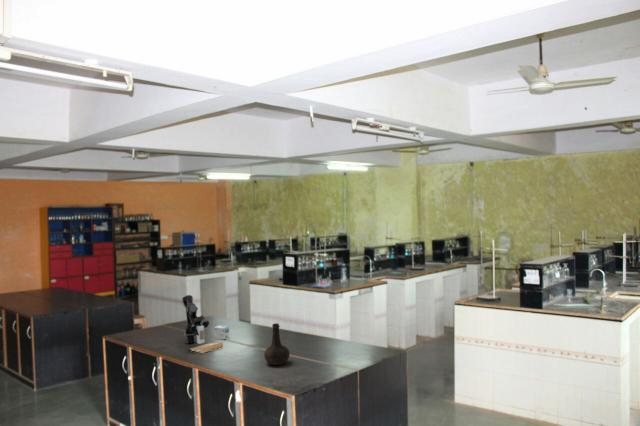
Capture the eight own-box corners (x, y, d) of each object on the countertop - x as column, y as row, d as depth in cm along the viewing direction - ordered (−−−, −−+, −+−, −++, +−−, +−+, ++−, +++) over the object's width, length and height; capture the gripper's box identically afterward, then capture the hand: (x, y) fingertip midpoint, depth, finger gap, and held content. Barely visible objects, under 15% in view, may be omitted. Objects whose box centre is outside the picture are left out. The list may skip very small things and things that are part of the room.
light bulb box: (229, 338, 440) (229, 325, 440) (225, 340, 434) (224, 327, 434) (219, 337, 444) (219, 325, 444) (214, 339, 438) (214, 326, 438)
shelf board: (190, 351, 403) (189, 348, 403) (211, 345, 418) (210, 342, 418) (201, 354, 393) (201, 351, 393) (222, 348, 407) (222, 345, 407)
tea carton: (196, 342, 401) (196, 326, 401) (202, 341, 404) (201, 325, 404) (199, 343, 398) (198, 327, 398) (204, 342, 401) (204, 326, 401)
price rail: (201, 351, 393) (200, 347, 393) (222, 345, 408) (221, 341, 408) (201, 351, 393) (201, 347, 393) (222, 345, 407) (222, 342, 407)
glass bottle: (273, 369, 346) (271, 328, 346) (260, 363, 361) (258, 324, 361) (294, 363, 357) (293, 323, 357) (281, 358, 371) (279, 320, 371)
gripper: (186, 314, 397) (193, 330, 389) (207, 310, 410) (215, 326, 402) (182, 323, 403) (189, 339, 395) (203, 319, 416) (210, 334, 408)
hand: (201, 334), depth 400 cm, fingers closed on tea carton, 4 cm apart
